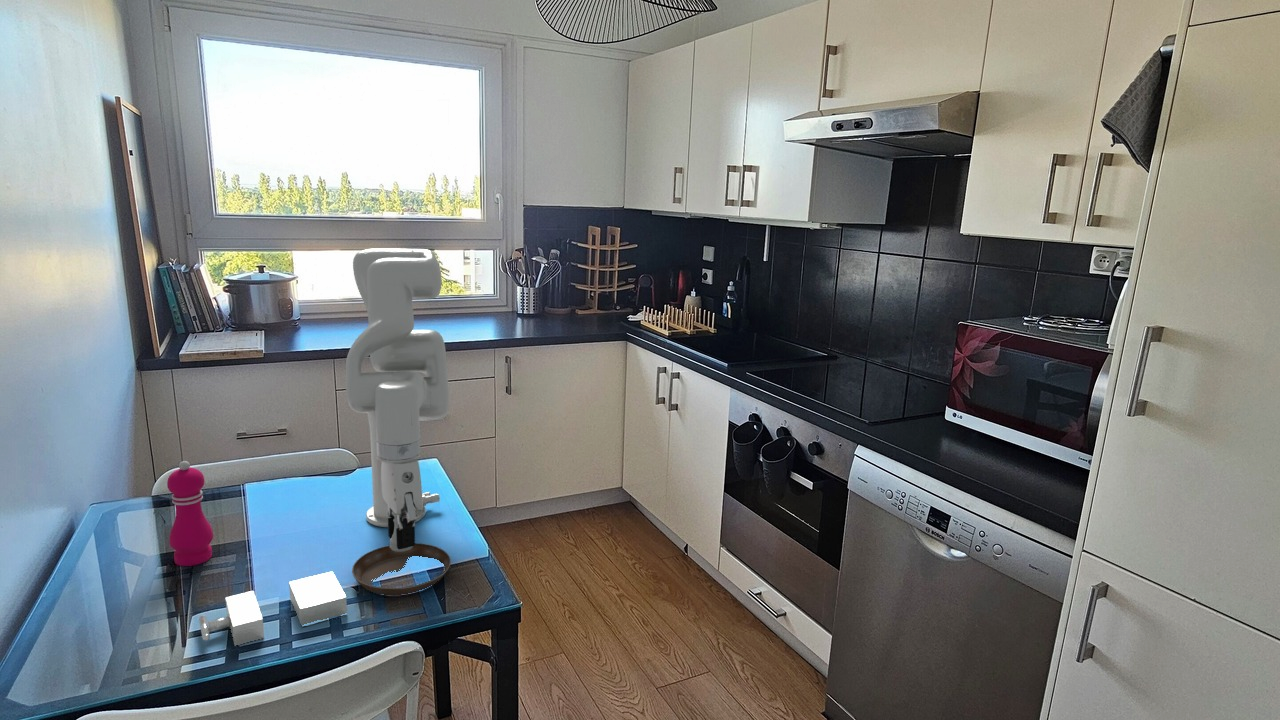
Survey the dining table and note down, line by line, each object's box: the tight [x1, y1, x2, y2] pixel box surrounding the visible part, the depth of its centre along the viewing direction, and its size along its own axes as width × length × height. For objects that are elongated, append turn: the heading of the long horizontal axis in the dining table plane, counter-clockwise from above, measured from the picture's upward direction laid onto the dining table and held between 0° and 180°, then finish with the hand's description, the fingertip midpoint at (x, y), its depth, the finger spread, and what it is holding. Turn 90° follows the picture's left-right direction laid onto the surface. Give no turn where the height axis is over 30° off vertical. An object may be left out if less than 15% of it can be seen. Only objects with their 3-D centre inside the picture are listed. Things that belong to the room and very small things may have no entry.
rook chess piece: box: [389, 508, 413, 552], centre depth 136 cm, size 4×4×8 cm
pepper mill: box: [166, 460, 214, 567], centre depth 139 cm, size 7×7×20 cm
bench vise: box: [198, 571, 348, 647], centre depth 123 cm, size 21×10×4 cm, turn 125°
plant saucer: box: [351, 542, 452, 595], centre depth 138 cm, size 18×18×3 cm
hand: (401, 540), depth 136 cm, fingers closed on rook chess piece, 4 cm apart
